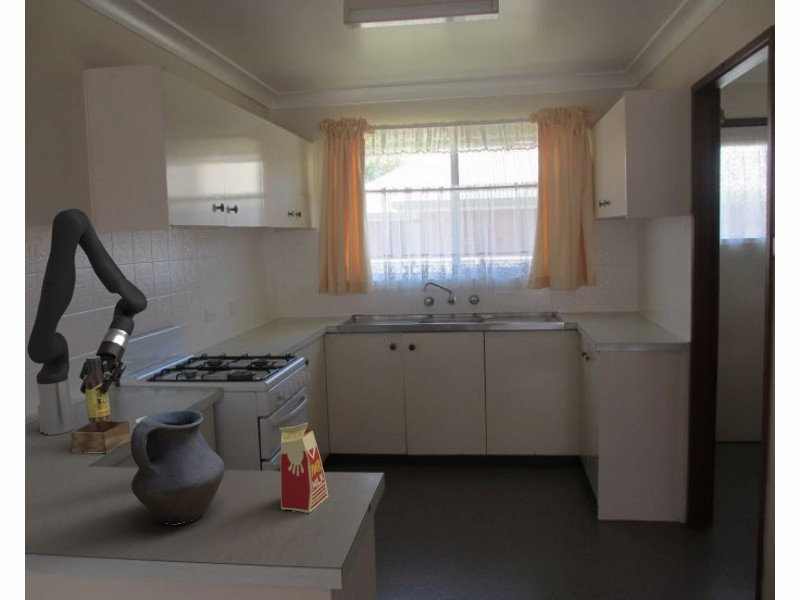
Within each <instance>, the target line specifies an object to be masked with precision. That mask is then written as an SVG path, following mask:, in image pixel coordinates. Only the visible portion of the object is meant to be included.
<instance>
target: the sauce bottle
mask: <svg viewBox="0 0 800 600" xmlns="http://www.w3.org/2000/svg"><path fill="white" fill-rule="evenodd" d="M100 361H101V358H100V356H96V355H93V356H89V357H86V358H85V362H86V363H87V368H88V370H87V371H88V374H87V376H86V378H85V393H86V394H85V401H86V411H87V417H88V422H89V424H90V423H99V422H104V421H109V420H110V417H111V407H110V399H109V398H110V397H109V390H108V391H107V392H106V394H102V393H101V392H100V388H101V386H102V384H103V382H104V380H105V375H103V373H102V371H101V364H100Z"/></svg>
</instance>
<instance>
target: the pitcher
mask: <svg viewBox="0 0 800 600" xmlns="http://www.w3.org/2000/svg"><path fill="white" fill-rule="evenodd" d="M147 416H148V417H146V418H144V419H142V420H141V421H140V423H139V424H137V423H136V424H137V425H136V426H135V427H134V429H133V430H132V435H131V436H132V437H131V441H130V451H131V452H130V453H131V456H132V459H133V460H134V461H133V462H134V463H135V464H136V466H137V467H138V470H137V471H136V473H135V474H134V476H133V478H132V481H131V491H132V493H133V494H134V496H135V497H136V498H137V499H138V501H139V503H141V504H142V505H143V506H144V507H145V508H146V509H147V511H148V512H149V513H150V514H151V515H152V516H153V518H154V520H156V521H157V522H159V523H161V522H162V524H163V523H168V524H178V523H183V522H188V521H191V520H194V519H196V518H198V517H200V516H201V515H203V514H204V513H205V514H206V512H207V511H208V509H209V507H210V506H211V503H212V502H213V500H214V499H215V496H216V494H217V491H218V489H220V488H219V487H220V486H221V483H222V481H223V480H224V476H225V472H226V467H225V463H224V460H223V459H222V457H221V456H220V455H219V454H217V453H216V452H215V451H214V450H213V448H211V447H210V445H209V444H208V442H207V441H206V438H205V436H204V435H203V434H202V432H201V430H200V425H202V423H203V422H204V415H203V413H202V412H200V411H198V410H191V409H190V410H188V409H187V410H185V409H184V410H173V411H167V412H158V413H153V414H150V415H147ZM146 438H147V439H146ZM145 441H146V445H145ZM205 514H204V515H205ZM204 515H203V516H204ZM201 517H202V516H201ZM201 517H200V518H201ZM198 519H199V518H198ZM196 520H197V519H196Z"/></svg>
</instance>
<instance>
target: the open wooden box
mask: <svg viewBox="0 0 800 600" xmlns="http://www.w3.org/2000/svg"><path fill="white" fill-rule="evenodd" d="M130 431H131V429H130V421H129V420H107V421H104V422H99V423H90V422H89V423H87V424H85V425H84V426H81V427H80V428H77V429H75V430H73V431H72V432H71V431H70V436H71V445H72V447H71V448H70V453H71V452H81V453H80V454H89V453H88V452H105V453H107V452H109V451H110V450H112V449H114V448H116V447H118V446H120V445H121V444H124V443H126V442H128V441H130V442H131V437H132V435H131V432H130ZM128 443H129V442H128ZM126 444H127V443H126ZM124 445H125V444H124ZM85 452H87V453H85Z"/></svg>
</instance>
